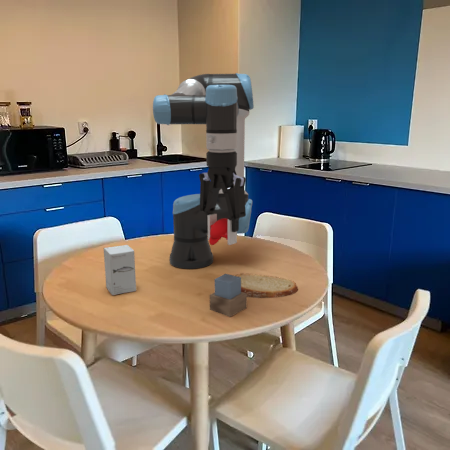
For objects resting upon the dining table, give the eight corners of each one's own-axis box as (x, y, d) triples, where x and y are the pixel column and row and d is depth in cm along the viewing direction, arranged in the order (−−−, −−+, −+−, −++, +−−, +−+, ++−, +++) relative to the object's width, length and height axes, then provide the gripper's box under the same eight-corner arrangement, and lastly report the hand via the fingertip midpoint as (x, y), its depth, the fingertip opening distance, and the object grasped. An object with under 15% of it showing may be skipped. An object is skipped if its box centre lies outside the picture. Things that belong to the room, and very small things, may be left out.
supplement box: (111, 296, 130) (108, 254, 127) (105, 287, 137) (102, 247, 133) (137, 291, 133) (134, 250, 130) (129, 283, 140) (127, 243, 137)
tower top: (214, 295, 120) (214, 279, 119) (225, 289, 124) (225, 273, 123) (230, 299, 117) (230, 283, 116) (240, 293, 121) (241, 277, 120)
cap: (222, 224, 122) (207, 216, 118) (239, 220, 118) (223, 211, 114) (218, 252, 119) (202, 244, 115) (235, 249, 115) (219, 241, 111)
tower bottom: (209, 310, 121) (209, 294, 120) (226, 301, 127) (226, 286, 126) (230, 317, 117) (230, 301, 116) (246, 308, 122) (246, 293, 121)
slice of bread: (303, 291, 134) (304, 279, 133) (259, 307, 123) (259, 295, 122) (261, 274, 148) (261, 263, 147) (218, 288, 137) (218, 276, 136)
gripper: (183, 149, 115) (185, 237, 120) (242, 154, 102) (241, 252, 108) (204, 147, 120) (205, 231, 126) (262, 151, 108) (260, 244, 114)
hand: (222, 240), depth 117 cm, fingers closed on cap, 6 cm apart
